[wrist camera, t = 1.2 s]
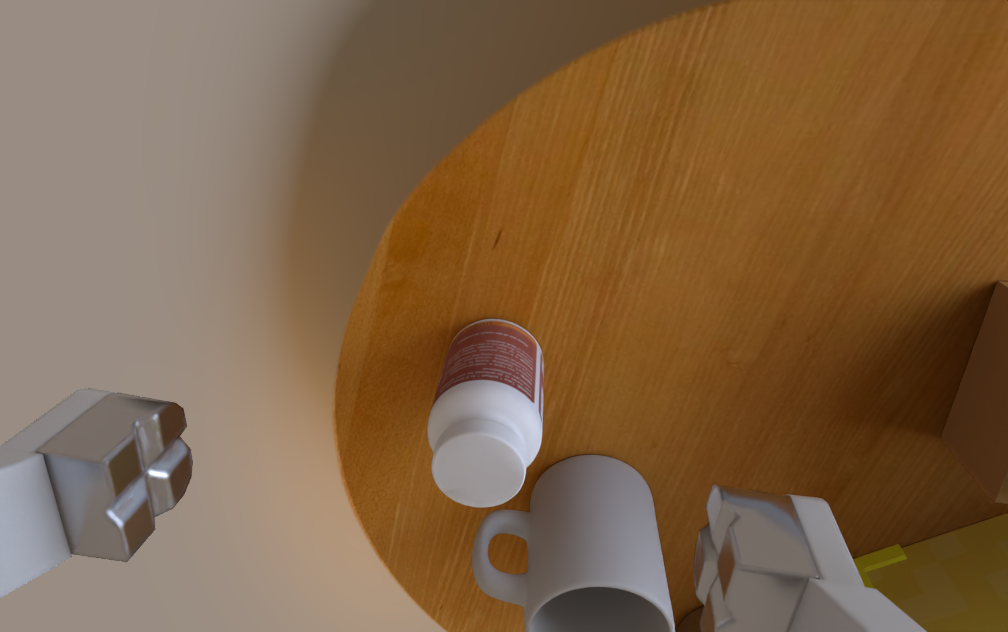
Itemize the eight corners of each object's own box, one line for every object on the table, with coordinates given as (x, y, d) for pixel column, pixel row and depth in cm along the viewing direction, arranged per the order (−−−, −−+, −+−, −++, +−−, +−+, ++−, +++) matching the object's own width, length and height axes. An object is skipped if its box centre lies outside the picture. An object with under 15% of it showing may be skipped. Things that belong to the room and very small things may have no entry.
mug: (666, 464, 45) (696, 597, 35) (635, 555, 49) (654, 697, 39) (491, 434, 45) (473, 558, 35) (474, 527, 49) (453, 663, 39)
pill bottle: (429, 339, 42) (390, 447, 32) (515, 299, 41) (502, 400, 31) (477, 412, 45) (455, 535, 35) (561, 378, 43) (562, 496, 33)
